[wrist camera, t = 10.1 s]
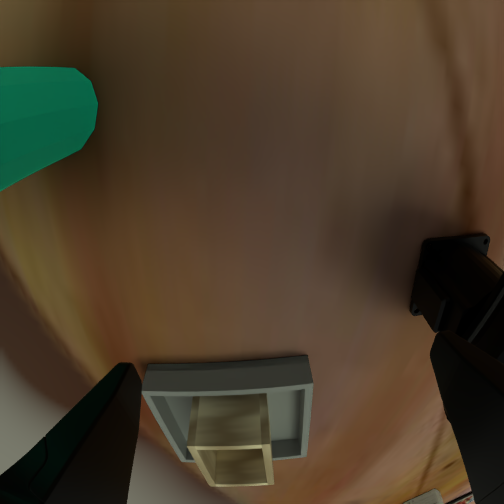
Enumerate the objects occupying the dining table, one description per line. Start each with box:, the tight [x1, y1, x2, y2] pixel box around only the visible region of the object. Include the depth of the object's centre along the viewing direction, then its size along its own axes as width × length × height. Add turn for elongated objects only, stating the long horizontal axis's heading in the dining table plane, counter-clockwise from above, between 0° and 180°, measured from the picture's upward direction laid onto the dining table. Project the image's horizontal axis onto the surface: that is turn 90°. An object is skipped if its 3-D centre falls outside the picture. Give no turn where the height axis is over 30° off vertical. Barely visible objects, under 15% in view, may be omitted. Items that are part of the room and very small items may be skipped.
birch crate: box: [187, 393, 274, 486], centre depth 25 cm, size 6×9×6 cm, turn 5°
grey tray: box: [142, 355, 313, 462], centre depth 27 cm, size 13×13×3 cm
